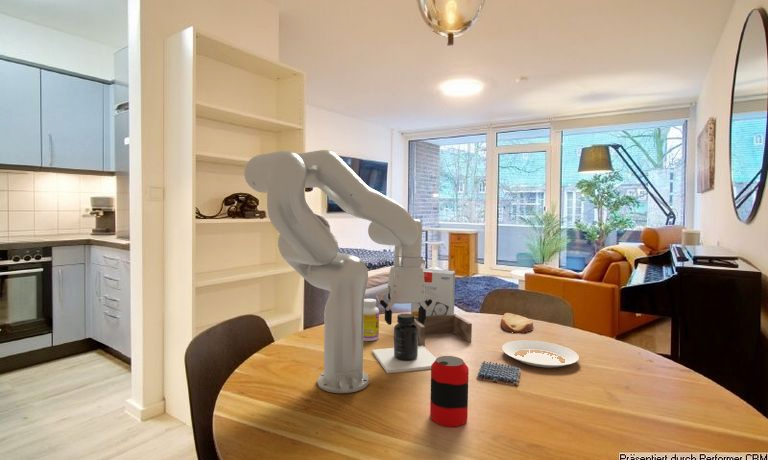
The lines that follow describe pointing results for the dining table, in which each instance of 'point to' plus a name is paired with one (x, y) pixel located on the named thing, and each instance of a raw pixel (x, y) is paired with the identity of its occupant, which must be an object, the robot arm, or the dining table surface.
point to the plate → (540, 358)
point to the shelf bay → (443, 326)
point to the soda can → (449, 391)
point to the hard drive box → (438, 292)
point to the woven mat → (499, 373)
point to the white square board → (395, 365)
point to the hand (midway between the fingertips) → (405, 323)
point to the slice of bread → (516, 323)
